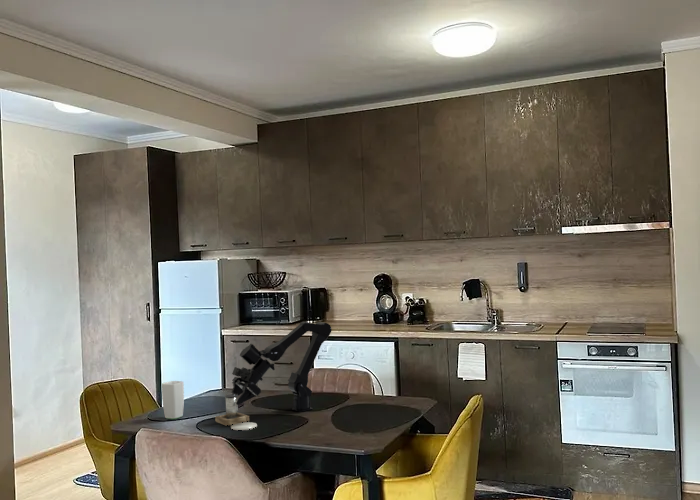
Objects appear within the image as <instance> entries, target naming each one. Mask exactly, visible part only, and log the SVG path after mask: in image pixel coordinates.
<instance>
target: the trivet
mask: <svg viewBox="0 0 700 500" xmlns="http://www.w3.org/2000/svg"><path fill="white" fill-rule="evenodd" d="M255 427H256V428H257V427H258V424H257V423H256V422H250V421H248V422H243V423H237V424H233V425H230V429H231V430H232V429H233V430H232V431H238V430H242V431H250V430H253V428H254V429H256V428H255ZM249 429H250V430H249Z"/></svg>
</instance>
